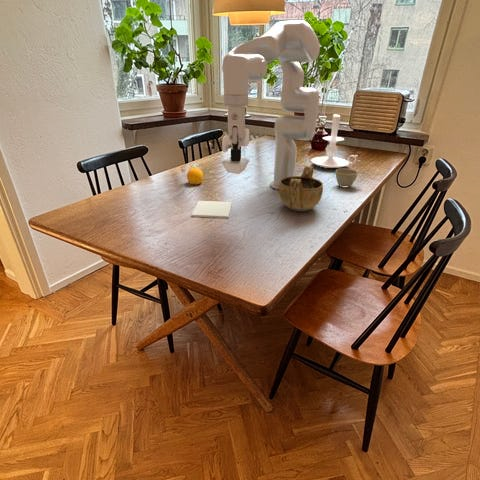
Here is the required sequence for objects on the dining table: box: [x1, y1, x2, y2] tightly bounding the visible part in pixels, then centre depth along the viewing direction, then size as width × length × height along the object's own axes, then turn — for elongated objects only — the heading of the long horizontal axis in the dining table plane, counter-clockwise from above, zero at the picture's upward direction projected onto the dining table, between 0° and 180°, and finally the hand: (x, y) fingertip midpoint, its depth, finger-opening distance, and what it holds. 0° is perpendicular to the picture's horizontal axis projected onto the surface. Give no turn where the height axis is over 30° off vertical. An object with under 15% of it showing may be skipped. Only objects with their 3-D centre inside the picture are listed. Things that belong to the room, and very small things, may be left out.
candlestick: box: [310, 113, 358, 169], centre depth 175 cm, size 21×25×28 cm
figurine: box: [221, 127, 251, 175], centre depth 107 cm, size 7×9×15 cm
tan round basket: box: [278, 165, 324, 212], centre depth 127 cm, size 22×17×15 cm
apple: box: [186, 167, 205, 185], centre depth 155 cm, size 8×8×8 cm
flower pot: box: [335, 168, 359, 187], centre depth 153 cm, size 10×10×7 cm
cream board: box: [191, 200, 233, 219], centre depth 128 cm, size 14×14×1 cm
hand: (236, 159), depth 109 cm, fingers closed on figurine, 3 cm apart
